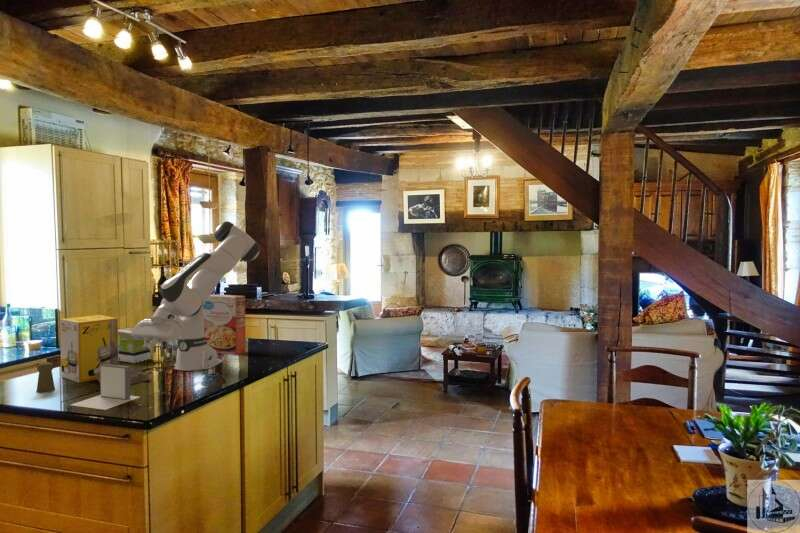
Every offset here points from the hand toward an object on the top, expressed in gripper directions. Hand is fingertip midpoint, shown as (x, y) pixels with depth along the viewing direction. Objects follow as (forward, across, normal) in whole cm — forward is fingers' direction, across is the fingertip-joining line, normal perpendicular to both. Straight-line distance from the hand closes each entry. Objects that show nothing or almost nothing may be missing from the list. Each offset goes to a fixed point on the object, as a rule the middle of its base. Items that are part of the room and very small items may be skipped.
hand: (146, 348), depth 207 cm
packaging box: (+4, -38, +20) cm, 43 cm away
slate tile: (+21, -3, +2) cm, 21 cm away
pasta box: (-38, -12, +62) cm, 74 cm away
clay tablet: (+7, -20, +17) cm, 27 cm away
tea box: (-18, -44, +41) cm, 63 cm away
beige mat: (+24, -3, -1) cm, 24 cm away
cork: (+20, -36, +3) cm, 42 cm away
